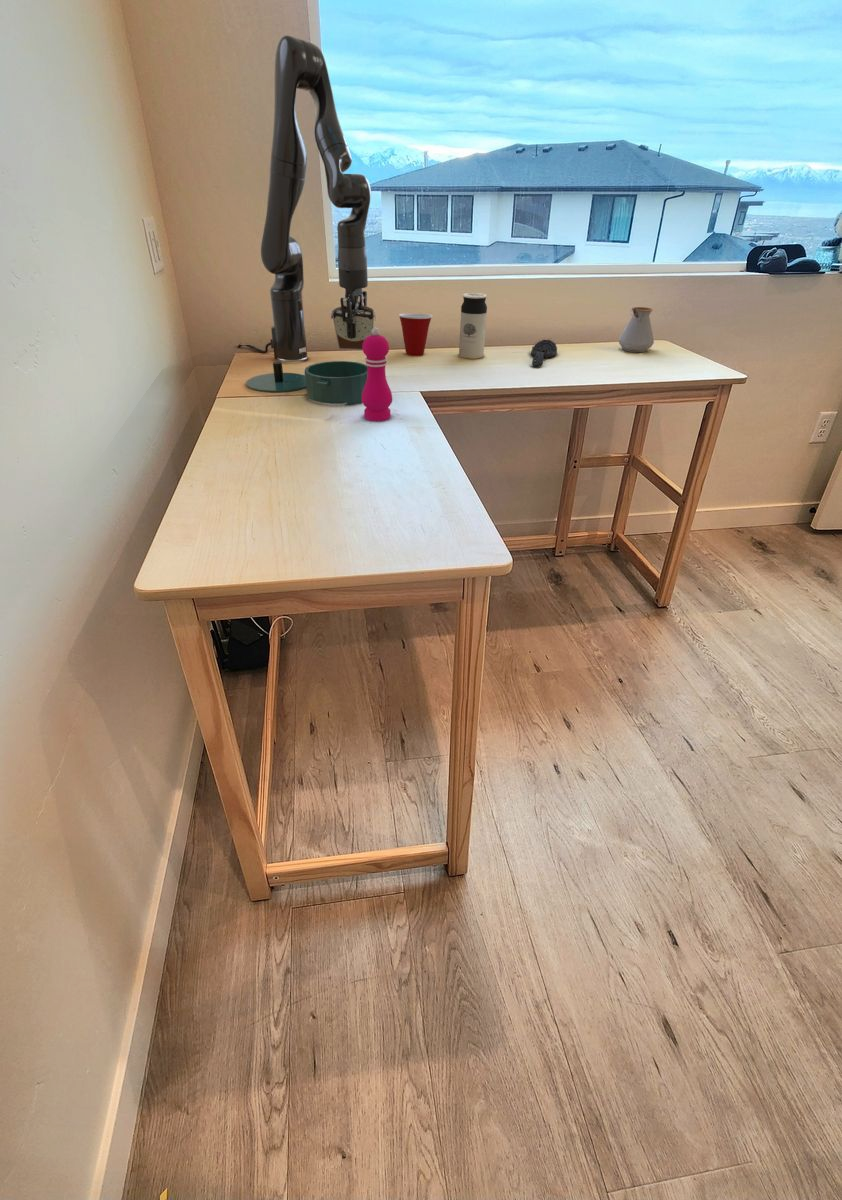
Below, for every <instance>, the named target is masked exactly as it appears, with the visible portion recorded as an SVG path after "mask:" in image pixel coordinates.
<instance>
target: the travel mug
mask: <svg viewBox="0 0 842 1200" xmlns="http://www.w3.org/2000/svg"><path fill="white" fill-rule="evenodd" d="M462 298H463V302H462V303H461V306H460V322H459V323H460V325H459V326H460V327H459V344H458V356H459V357H461V358H463V359H467V360H477V359H482V358H483V357H484V355H485V342H486V328H487V313H488V305H487V303H486V299H487V298H488V295H487V294H485V293H480V292H467V293H463V294H462Z"/></svg>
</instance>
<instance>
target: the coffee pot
mask: <svg viewBox="0 0 842 1200" xmlns="http://www.w3.org/2000/svg"><path fill="white" fill-rule="evenodd" d="M653 311H654V310H653V308H650V307H644V306H643V307H642V306H636V307H631V312H632V314H631V318H630V320H629V321H628V323H627V325H626V326H625V328H624V330H623V331H622V333H621V334H620V336H619V338H618V343H619V346H620V347H621V348H622V350H623V351H625V352H629V353H645V352H647V350H649V349H651V348H652V346H653V345H654V343H655V341H654V335H653V330H652V324H651V319H650V316H651V313H652V312H653Z"/></svg>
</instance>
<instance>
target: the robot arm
mask: <svg viewBox="0 0 842 1200" xmlns="http://www.w3.org/2000/svg"><path fill="white" fill-rule="evenodd" d="M273 75H274V76H273V77H274V89H273V91H274V100H273V101H274V103H273V105H274V106H273V107H274V108H273V109H274V110H273V127H272V140H271V141H272V142H271V150H270V160H269V161H270V162H269V179H268V191H267V203H266V213H265V220H264V227H263V232H262V237H261V243H260V258H261V262H262V264H263V267H264V268H265V269H266V271H268V272H269V273H270V274H274V282H273V283H272V285H271V287H270V288H269V296H270V305H271V313H272V314H271V315H272V322H273V323H272V324H273V326H271V327H270V331H271V338H270V342H268V343H267V344H266V345H265V347H264V348H265V350H263V349H260V348H258V347H256V346H254V345H251V344H249V345H240V344H241V343H239V344H238V345H237V348H241V347H242V346H243V347H247V348H250V349H252V350H255V351H256V352H259V353H261V354H267V353H268V352H269V347H270V349H273V358H274V360H278V361H280V362H288V363H289V362H291V363H292V362H306V361H307V360H309V357H308V349H307V338H306V325H305V315H304V313H305V312H304V303H303V290H304V284H305V280H304V279H305V278H304V258H303V253H302V248H301V246H300V243H299V242H298V241H297V240H296V239H295V238H294V237H293V236H291V225H292V220H293V217H294V214H295V211H296V209H297V207H298V204H299V202H300V199H301V197H302V195H303V192H304V188H305V184H306V183H305V182H306V176H307V166H308V153H307V149H306V145H305V141H304V139H303V138H304V137H303V135H302V132H301V129H300V125H299V122H298V119H297V118H298V117H297V111H296V107H297V106H296V105H297V104H296V101H297V100H296V99H297V89H298V90H301V91H305V92H308V93H309V95H310V96H311V99H312V100H313V103H314V106H315V110H316V113H315V118H314V126H313V129H314V130H313V134H314V139H315V144H316V147H317V150H318V152H319V155H320V157H321V161H322V164H323V167H324V173H325V179H326V190H327V197H328V199H329V201H330V202H331V204H332V205H333V206H334V207H336V208H338V209H351V211H350V213H349V216H348V217H347V218H344V219H341V220H339V221H338V223H337V226H336V227H337V228H336V230H337V234H336V235H337V269H338V285H339V287H340V288H342V289H345V290H344V297H340V307H341V310H342V319H343V322H345V323H347V337H348V338H353V339H354V338H355V337H356V329H355V318H356V314H358V309H359V310H363V309H364V308H363V306H366V307H368V303H367V302H368V292H367V291H365V290H363V289H365V288H367V287H368V285H369V283H368V281H369V280H368V256H367V249H366V248H367V247H366V225H367V219H368V215H369V209H370V206H371V199H372V190H371V189H372V188H371V184H370V182H369V180H368V178H367V177H366V176H365V175H364V174H362V173H361V174H360V173H345V172H346V171H347V170H349V169H350V168H351V165H352V163H353V157H352V153H351V151H350V148H349V145H348V143H347V139H346V137H345V134H344V131H343V130H342V126H341V123H340V120H339V117H338V113H337V108H336V104H335V97H334V93H333V90H332V85H331V80H330V76H329V70H328V66H327V63H326V60H325V56H324V54H323V52H322V50H321V48H319V46H318V45H316V44H315V43H312V42H310V41H307V40H304V39H301V38H298V37H296V36H292V35H289V34H285V35H283V36H282V37H280V39H279V40H278V43H277V46H276V49H275V55H274V74H273ZM360 306H361V308H360ZM345 313H346V316H345ZM348 314H349V317H348ZM352 314H353V316H352Z"/></svg>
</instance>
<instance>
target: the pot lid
mask: <svg viewBox="0 0 842 1200" xmlns="http://www.w3.org/2000/svg"><path fill="white" fill-rule="evenodd" d="M272 368H273V372H271V373H270V372H269V373H264V374H258V375H255V376H252V377H250V378H249V379H247V380H246V382H245V384H246V388H248V389H250V390H252V391H256V392H261V393H262V392H263V393H291V392H295V391H301V390H303V389H304V390H305V389H306V382H305V374H301V373H296V372H295V373H294V372H284V370H283V361H274V362H272Z"/></svg>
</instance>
